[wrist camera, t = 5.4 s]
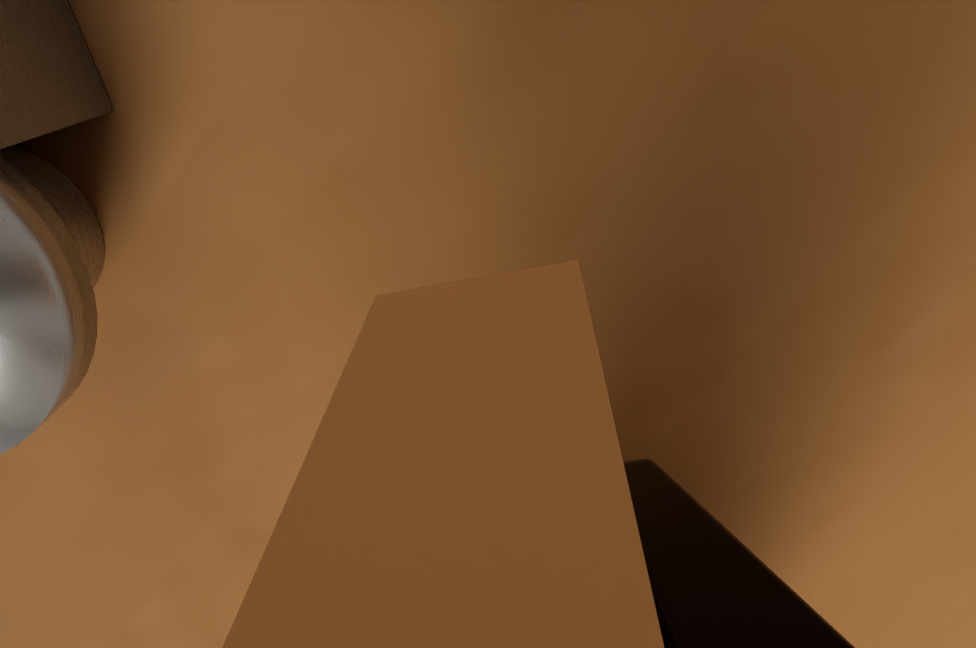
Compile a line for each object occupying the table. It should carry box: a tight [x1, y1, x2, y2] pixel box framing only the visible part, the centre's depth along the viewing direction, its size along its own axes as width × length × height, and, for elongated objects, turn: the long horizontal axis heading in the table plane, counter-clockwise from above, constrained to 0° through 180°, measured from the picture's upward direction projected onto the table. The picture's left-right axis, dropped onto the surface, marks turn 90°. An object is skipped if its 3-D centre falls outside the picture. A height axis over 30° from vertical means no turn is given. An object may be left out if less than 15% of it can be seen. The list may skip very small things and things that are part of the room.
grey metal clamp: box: [0, 0, 114, 454], centre depth 12 cm, size 14×15×6 cm
